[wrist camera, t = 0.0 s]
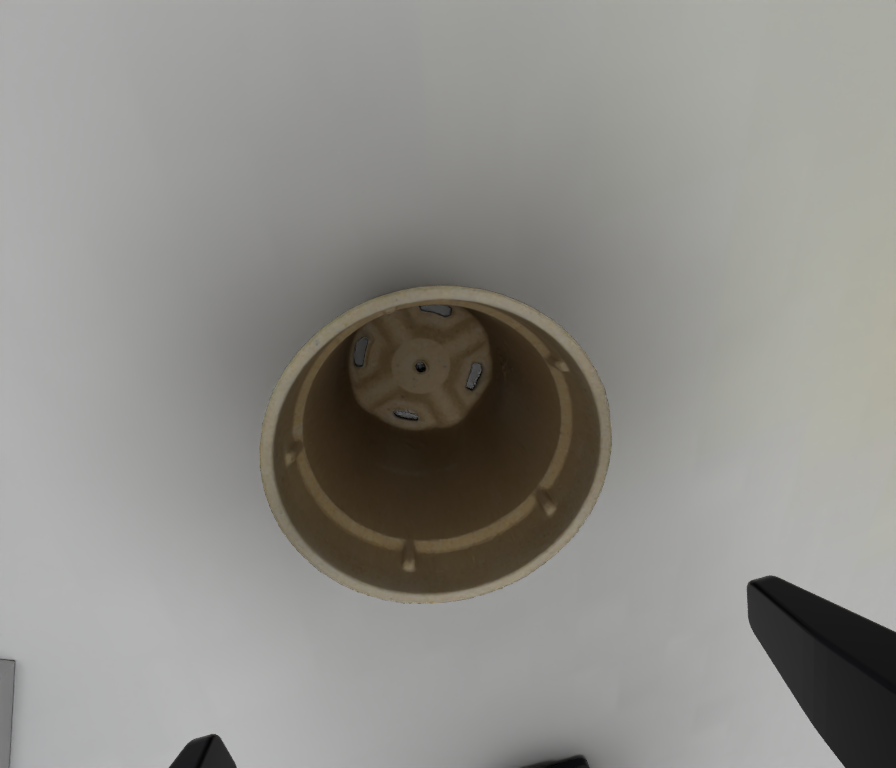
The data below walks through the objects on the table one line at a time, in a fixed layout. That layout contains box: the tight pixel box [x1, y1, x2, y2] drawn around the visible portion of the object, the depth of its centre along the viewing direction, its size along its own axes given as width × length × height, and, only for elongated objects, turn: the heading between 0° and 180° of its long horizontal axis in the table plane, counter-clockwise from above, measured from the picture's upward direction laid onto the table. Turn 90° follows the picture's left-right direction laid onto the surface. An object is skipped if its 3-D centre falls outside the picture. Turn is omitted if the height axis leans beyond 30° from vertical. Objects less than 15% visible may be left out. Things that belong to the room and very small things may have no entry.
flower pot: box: [260, 286, 612, 604], centre depth 18 cm, size 9×9×9 cm
